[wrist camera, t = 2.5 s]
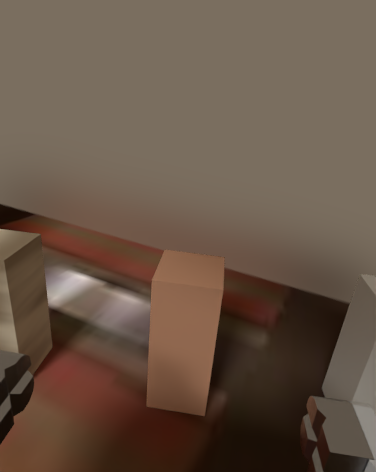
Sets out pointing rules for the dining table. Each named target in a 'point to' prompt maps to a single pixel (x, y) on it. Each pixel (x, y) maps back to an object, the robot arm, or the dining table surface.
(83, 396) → the dining table surface
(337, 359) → the white block
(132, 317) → the dining table surface
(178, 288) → the terracotta block
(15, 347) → the birch block
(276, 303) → the dining table surface
